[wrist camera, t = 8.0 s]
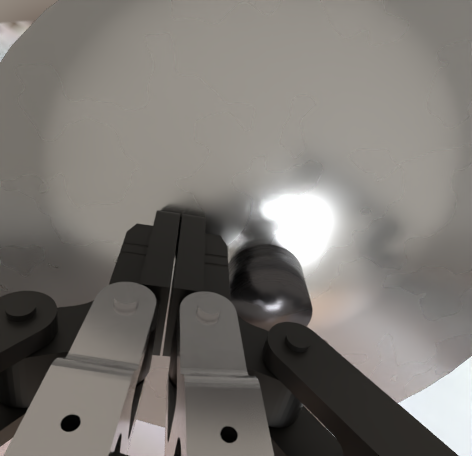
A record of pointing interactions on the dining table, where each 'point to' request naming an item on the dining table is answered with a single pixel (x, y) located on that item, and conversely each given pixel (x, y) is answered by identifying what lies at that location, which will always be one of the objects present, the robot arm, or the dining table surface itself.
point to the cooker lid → (255, 164)
